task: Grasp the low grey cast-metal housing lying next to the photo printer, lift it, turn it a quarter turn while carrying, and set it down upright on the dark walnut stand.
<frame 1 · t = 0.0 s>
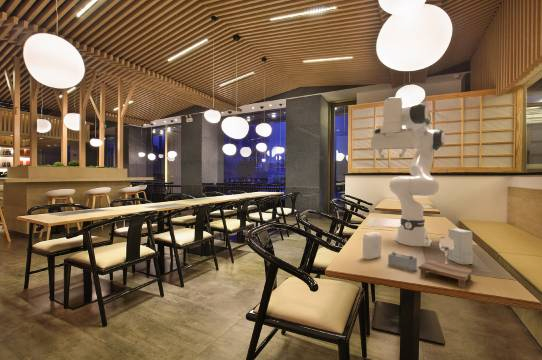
hand: (391, 157, 133), 48 cm above the table, fingers open, 8 cm apart
stand: (445, 278, 104), on the table
wineglass: (446, 265, 119), on the table
skincare box: (459, 262, 124), on the table
photo printer: (371, 257, 128), on the table
housing: (402, 267, 115), on the table
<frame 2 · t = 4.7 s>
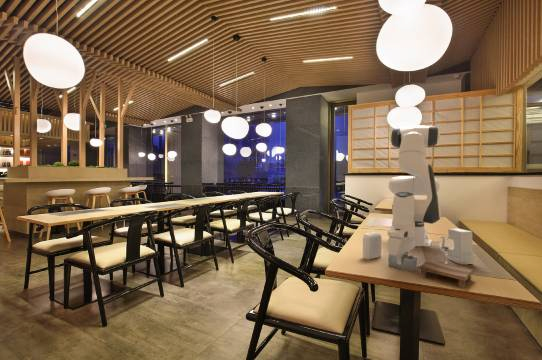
hand: (402, 262, 115), 2 cm above the table, fingers closed on housing, 4 cm apart
housing: (402, 267, 115), on the table, touching gripper
everything else where it was.
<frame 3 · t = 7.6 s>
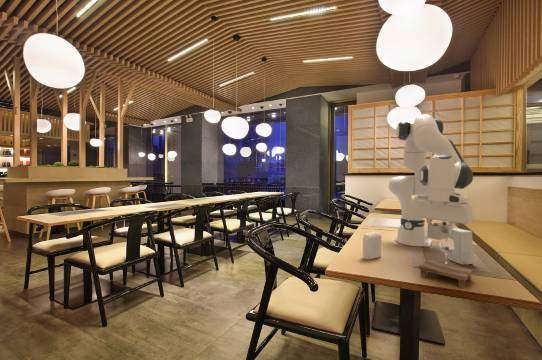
hand: (439, 231, 105), 18 cm above the table, fingers closed on housing, 4 cm apart
housing: (439, 237, 105), point 16 cm above the table, touching gripper
everything else where it was.
when the fingers open (7 cm above the table, at t = 10.5 s): housing stays where it is, resting on stand.
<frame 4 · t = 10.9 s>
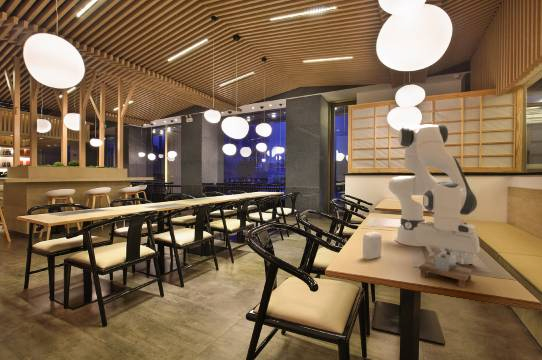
hand: (445, 259, 104), 7 cm above the table, fingers open, 8 cm apart
housing: (445, 267, 104), point 4 cm above the table, touching stand
everything else where it was.
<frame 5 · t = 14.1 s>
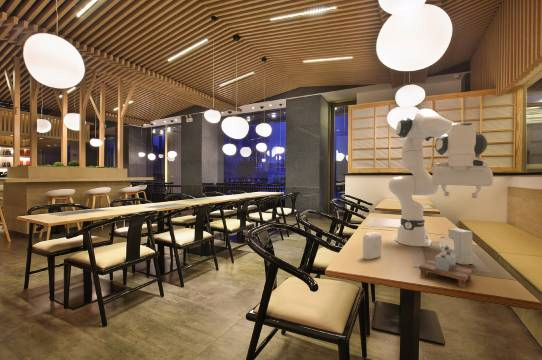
hand: (460, 196, 108), 31 cm above the table, fingers open, 8 cm apart
nothing on the table moved.
at the end: housing inside the target area on the stand (0.1 cm from its centre), point 4.0 cm above the stand's base; housing tilted 0°; the gripper is holding nothing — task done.
